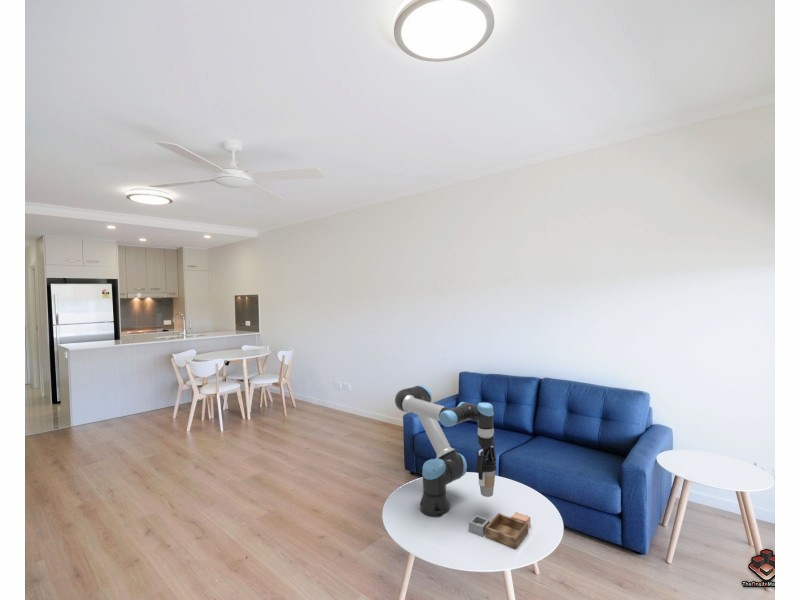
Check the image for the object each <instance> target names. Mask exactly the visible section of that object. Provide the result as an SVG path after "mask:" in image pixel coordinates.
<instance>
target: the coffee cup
mask: <svg viewBox="0 0 800 600" xmlns="http://www.w3.org/2000/svg"><path fill="white" fill-rule="evenodd" d="M496 470H497V465H496V464H494V462H492V461H490V460H488V459H486V461H485V466H484V477H485V486H484V487H483V486H480V485H479V489H480V491H479V492H480V495H481V496H482V497H486V498H491V497H493V495H494V487H495V481H496ZM477 477H478V478H479V473H478V472H477Z"/></svg>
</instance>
